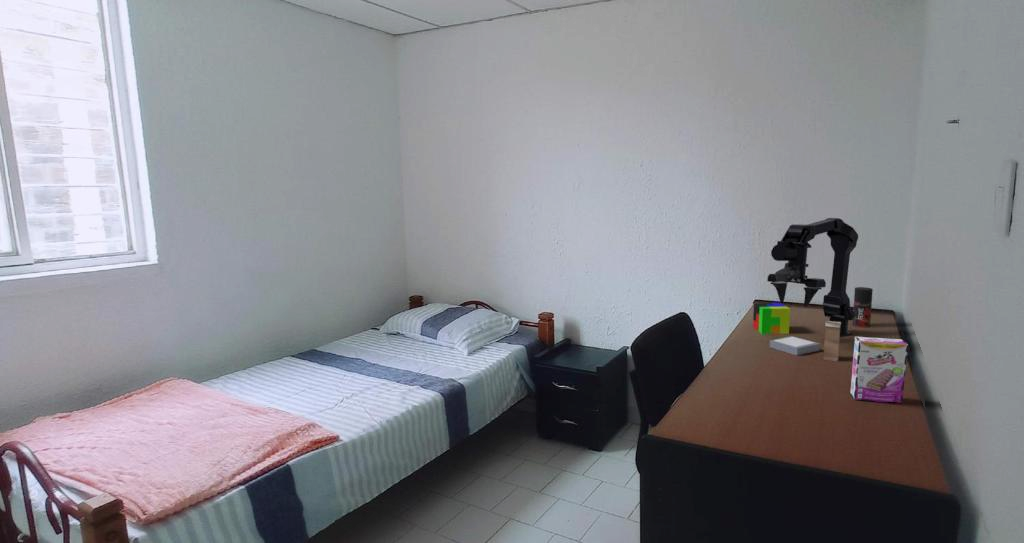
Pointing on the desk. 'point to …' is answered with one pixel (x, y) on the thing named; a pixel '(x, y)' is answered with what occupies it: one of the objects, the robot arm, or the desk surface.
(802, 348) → the plinth
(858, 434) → the desk surface
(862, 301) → the deodorant
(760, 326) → the puzzle toy
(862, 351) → the candy bar box
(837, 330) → the beige rectangular block
